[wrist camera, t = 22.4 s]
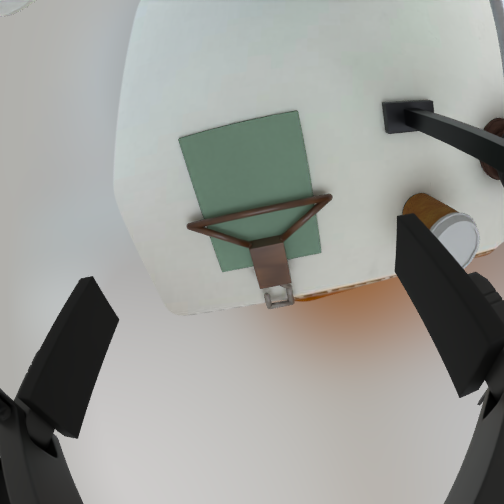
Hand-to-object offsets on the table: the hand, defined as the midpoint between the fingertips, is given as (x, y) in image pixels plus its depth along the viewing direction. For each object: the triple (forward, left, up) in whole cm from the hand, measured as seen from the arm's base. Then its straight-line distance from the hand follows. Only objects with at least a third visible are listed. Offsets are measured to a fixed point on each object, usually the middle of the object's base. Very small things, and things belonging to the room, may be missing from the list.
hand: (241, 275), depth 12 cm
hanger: (+6, -8, -29) cm, 31 cm away
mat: (+5, -8, -31) cm, 32 cm away
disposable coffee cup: (+29, +3, -31) cm, 43 cm away
